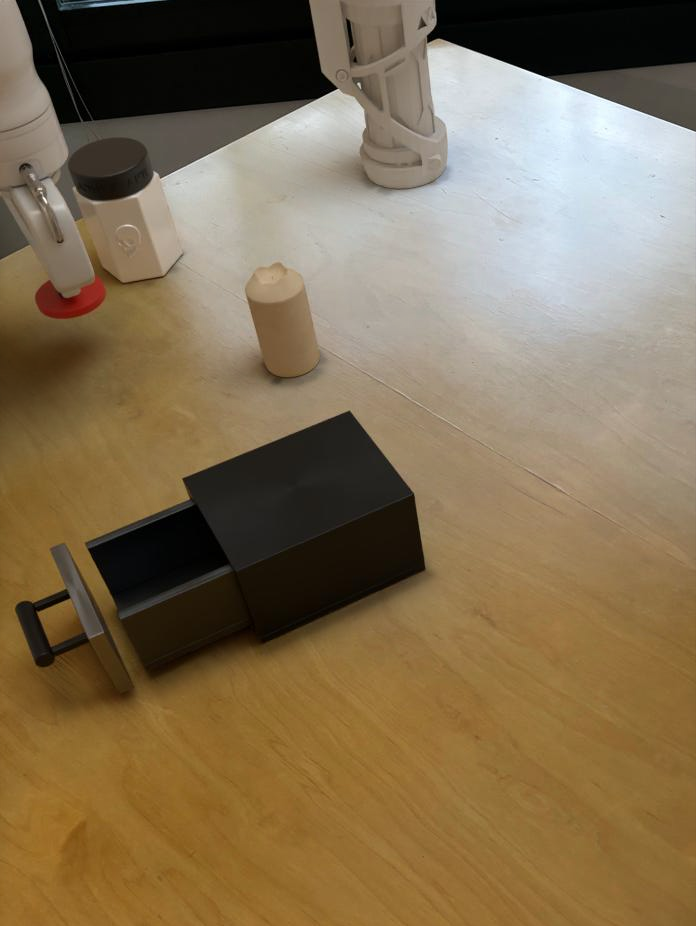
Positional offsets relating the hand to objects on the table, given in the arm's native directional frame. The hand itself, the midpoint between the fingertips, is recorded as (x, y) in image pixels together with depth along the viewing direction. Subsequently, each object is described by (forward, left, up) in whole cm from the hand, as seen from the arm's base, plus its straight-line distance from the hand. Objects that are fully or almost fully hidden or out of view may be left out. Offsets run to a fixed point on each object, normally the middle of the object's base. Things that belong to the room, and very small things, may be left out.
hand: (65, 283), depth 103 cm
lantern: (+42, +14, -8) cm, 44 cm away
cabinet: (+8, -39, -8) cm, 41 cm away
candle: (+17, -13, -8) cm, 23 cm away
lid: (0, 0, -2) cm, 2 cm away
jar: (+10, +13, -8) cm, 18 cm away
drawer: (-6, -39, -7) cm, 40 cm away
